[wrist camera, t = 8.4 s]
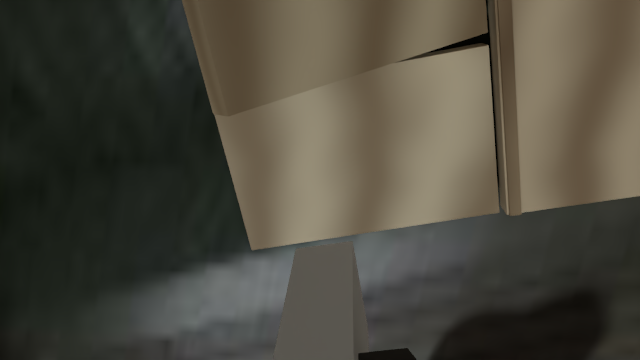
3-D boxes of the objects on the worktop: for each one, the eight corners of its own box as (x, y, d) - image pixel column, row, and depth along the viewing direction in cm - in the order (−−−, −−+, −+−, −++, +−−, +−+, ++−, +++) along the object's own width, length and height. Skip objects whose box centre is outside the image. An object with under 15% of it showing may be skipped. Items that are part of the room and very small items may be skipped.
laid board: (500, 205, 27) (508, 216, 26) (475, -190, 21) (484, -202, 19) (680, 179, 26) (697, 189, 25) (715, -249, 20) (741, -266, 18)
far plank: (255, 240, 29) (251, 250, 28) (215, 92, 26) (209, 97, 24) (492, 203, 27) (499, 212, 26) (481, 42, 24) (488, 45, 23)
